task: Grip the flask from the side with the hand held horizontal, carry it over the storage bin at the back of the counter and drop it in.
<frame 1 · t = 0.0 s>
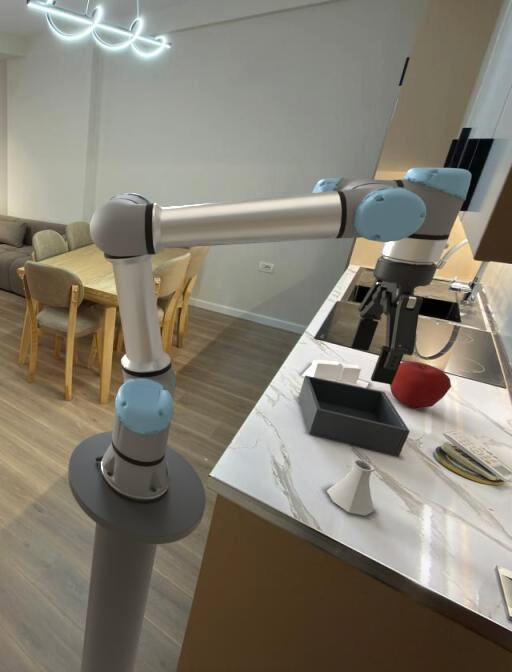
hand: (369, 364, 76), 31 cm above the counter, tool pointing down, fingers open, 13 cm apart
apple: (408, 403, 114), on the counter
napkin holder: (334, 380, 126), on the counter
storage bin: (343, 424, 106), on the counter
flask: (348, 502, 83), on the counter
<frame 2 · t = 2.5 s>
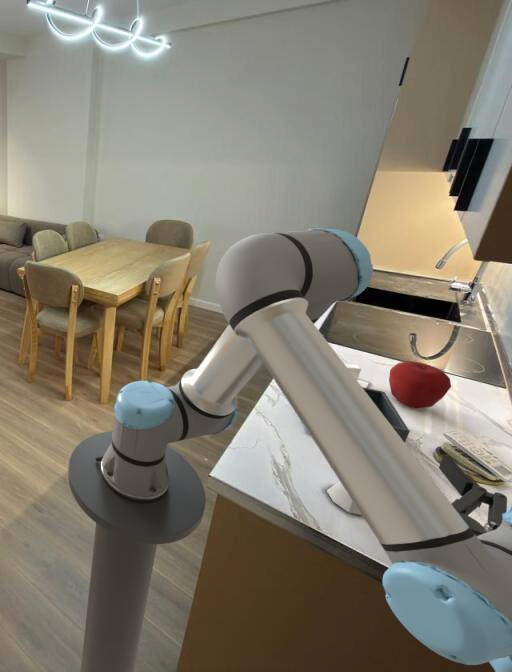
hand: (391, 450, 70), 20 cm above the counter, tool horizontal, fingers open, 13 cm apart
nothing on the counter moved.
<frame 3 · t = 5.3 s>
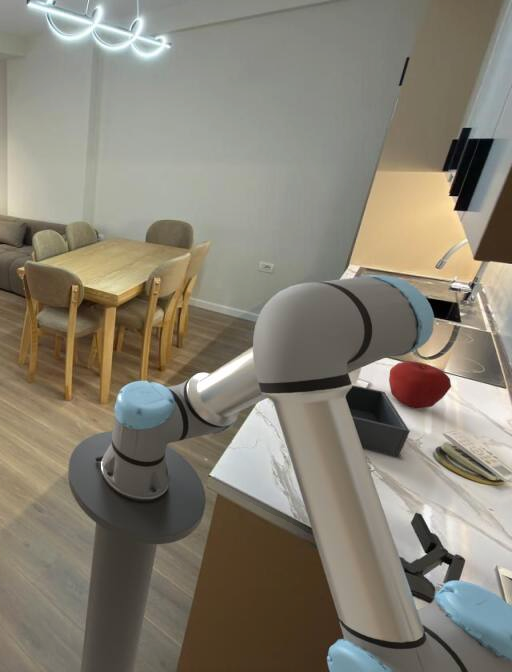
hand: (368, 503, 76), 6 cm above the counter, tool horizontal, fingers open, 13 cm apart
nothing on the counter moved.
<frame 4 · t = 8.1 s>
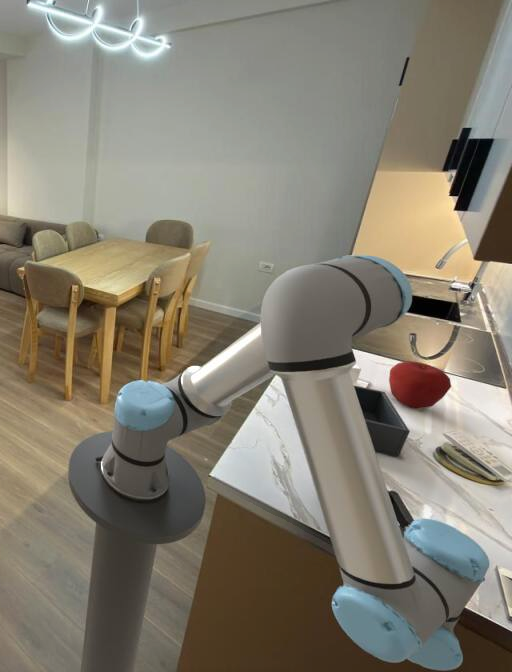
hand: (350, 462, 86), 6 cm above the counter, tool horizontal, fingers closed on flask, 3 cm apart
flask: (348, 502, 83), on the counter, touching gripper
everything else where it was.
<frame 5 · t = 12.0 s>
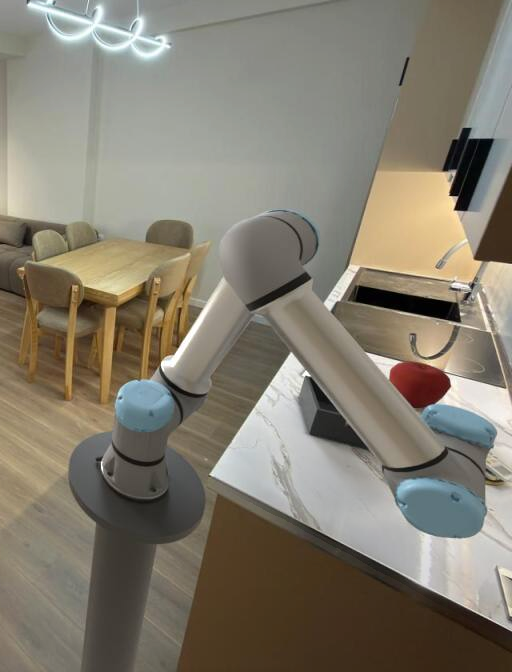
hand: (365, 388, 91), 18 cm above the counter, tool horizontal, fingers closed on flask, 3 cm apart
flask: (363, 424, 89), point 12 cm above the counter, touching gripper
everything else where it was.
when the fingers open (12 cm above the counter, at t = 16.2 s): flask drops 5 cm, resting on storage bin.
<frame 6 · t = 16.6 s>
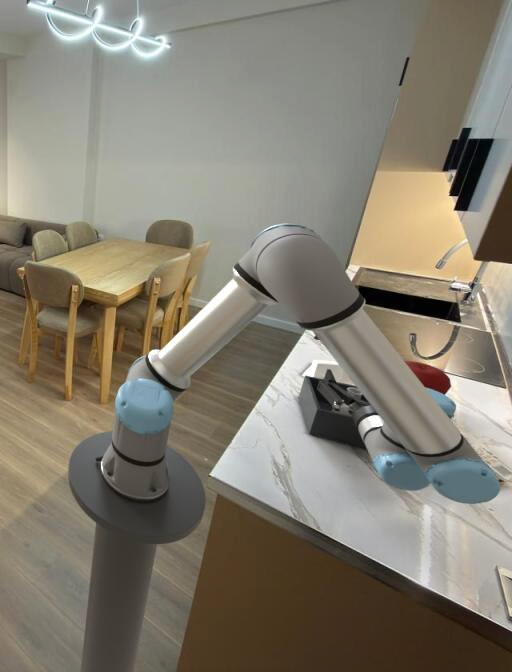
hand: (352, 378, 105), 12 cm above the counter, tool horizontal, fingers open, 10 cm apart
flask: (343, 422, 106), point 1 cm above the counter, touching storage bin
everything else where it was.
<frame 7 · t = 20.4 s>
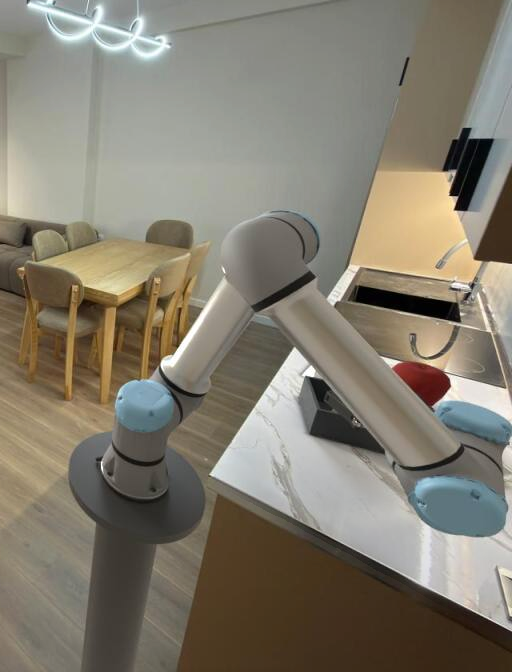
hand: (373, 389, 89), 19 cm above the counter, tool horizontal, fingers open, 13 cm apart
nothing on the counter moved.
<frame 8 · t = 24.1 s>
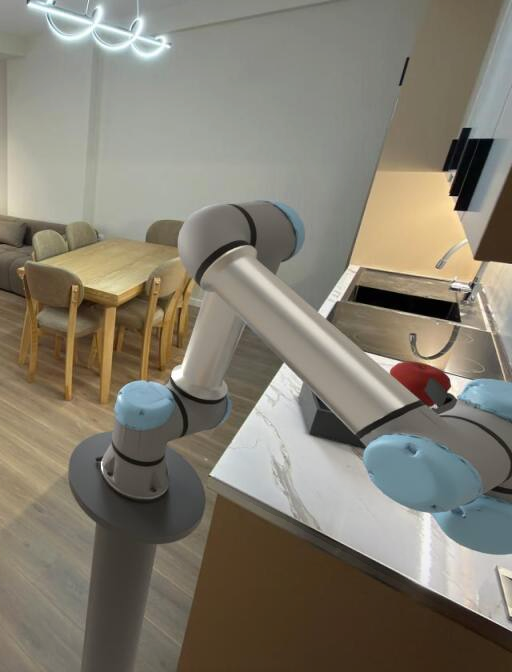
hand: (381, 375, 75), 30 cm above the counter, tool horizontal, fingers open, 13 cm apart
nothing on the counter moved.
at the end: flask inside the target area in the storage bin (0.0 cm from its centre), point 0.6 cm above the storage bin's base; the gripper is holding nothing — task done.
